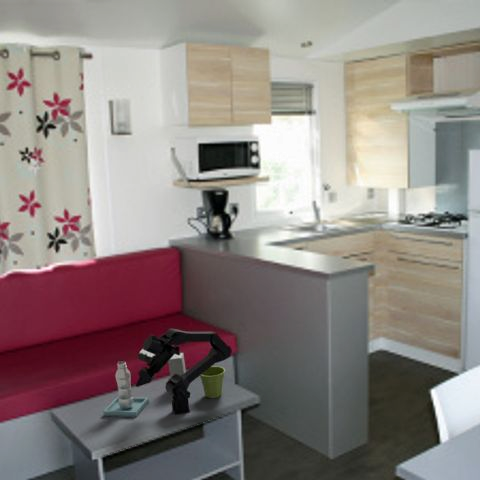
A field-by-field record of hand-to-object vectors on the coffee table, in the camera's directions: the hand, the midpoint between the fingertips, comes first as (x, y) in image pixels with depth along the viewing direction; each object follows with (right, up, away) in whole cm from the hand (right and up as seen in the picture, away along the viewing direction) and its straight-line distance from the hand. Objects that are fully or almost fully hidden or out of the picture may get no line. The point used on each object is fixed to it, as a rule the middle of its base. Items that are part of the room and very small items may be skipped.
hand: (140, 381), depth 278 cm
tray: (-7, -13, +7) cm, 16 cm away
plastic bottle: (-7, -13, +7) cm, 16 cm away
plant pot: (+30, -9, +15) cm, 35 cm away
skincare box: (+14, -9, +25) cm, 30 cm away
